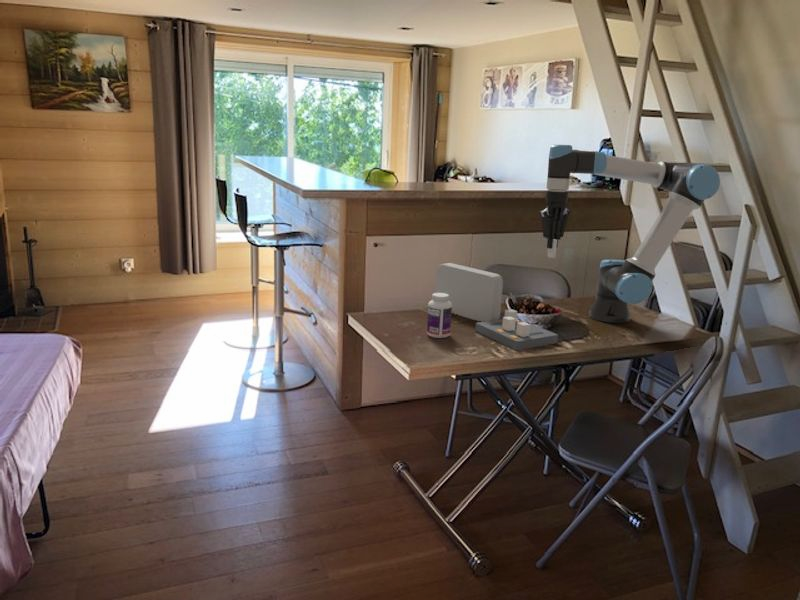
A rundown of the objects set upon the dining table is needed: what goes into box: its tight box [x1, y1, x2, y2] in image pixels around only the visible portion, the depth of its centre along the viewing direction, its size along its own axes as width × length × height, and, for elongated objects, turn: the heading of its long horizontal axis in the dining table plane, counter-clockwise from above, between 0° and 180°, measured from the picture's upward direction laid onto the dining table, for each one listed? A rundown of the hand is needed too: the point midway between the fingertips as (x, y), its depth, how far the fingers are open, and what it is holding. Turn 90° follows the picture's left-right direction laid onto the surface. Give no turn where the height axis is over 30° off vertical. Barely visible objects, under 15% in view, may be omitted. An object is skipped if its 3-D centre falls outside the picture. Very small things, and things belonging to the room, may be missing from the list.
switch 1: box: [504, 308, 518, 322], centre depth 223 cm, size 3×3×4 cm
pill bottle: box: [426, 292, 452, 339], centre depth 213 cm, size 8×8×14 cm
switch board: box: [474, 318, 559, 351], centre depth 216 cm, size 18×22×3 cm
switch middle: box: [502, 316, 516, 331], centre depth 214 cm, size 3×3×4 cm
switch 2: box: [516, 321, 531, 337], centre depth 208 cm, size 3×3×4 cm
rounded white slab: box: [434, 262, 504, 322], centre depth 239 cm, size 29×8×18 cm, turn 44°
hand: (551, 257), depth 224 cm, fingers closed
